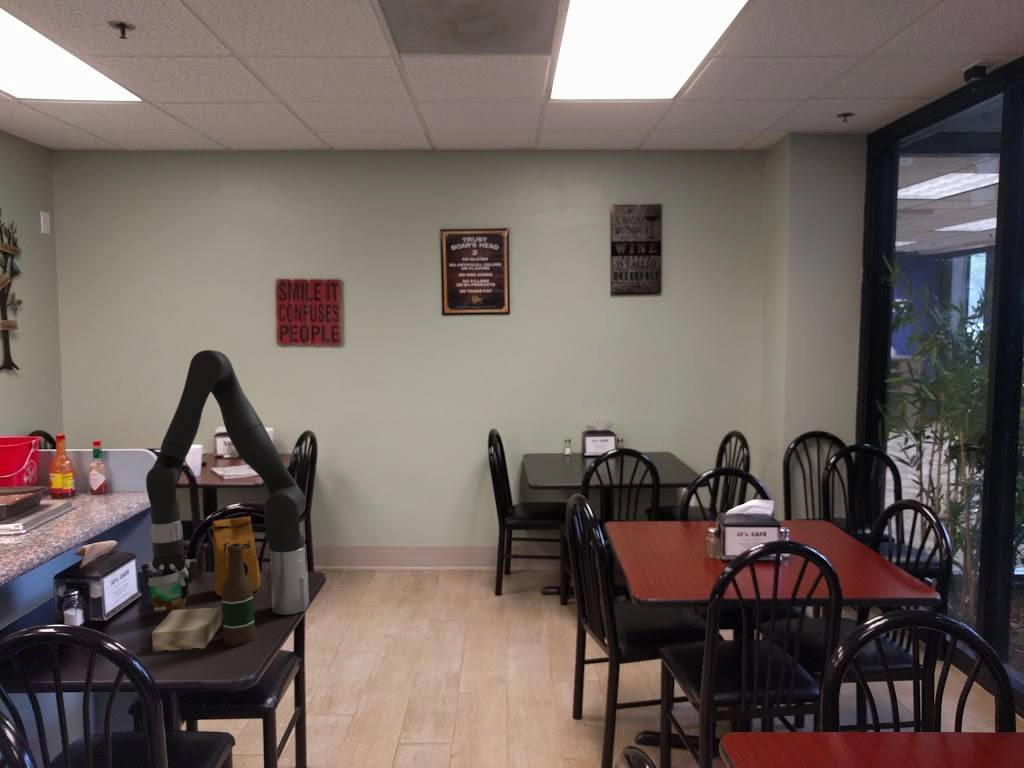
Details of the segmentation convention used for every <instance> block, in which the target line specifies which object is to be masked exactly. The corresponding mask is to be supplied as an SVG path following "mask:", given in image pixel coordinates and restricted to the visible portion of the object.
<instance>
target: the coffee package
mask: <svg viewBox="0 0 1024 768" xmlns="http://www.w3.org/2000/svg"><path fill="white" fill-rule="evenodd" d="M211 528H212V531H213V533H212V534H213V537H212V540H213V543H212V544H213V558H214V569H213V585H214V587H213V588H214V592H215V594H216V595H217V596H219V597H222V588H223V585H224V582H225V581H226V579H227V577H228V570H229V552H228V551H227V548H228V546H229V545H231V544H236V543H238V544H242V547H243V549H242V550H241V551H242V559H243V568H244V573H245V575H246V576H247V578H248V579H249V580H250V582H251V585H252V590H253V592H258V591H259V588H260V584H261V582H260V581H261V573H260V565H259V561H258V556H257V549H256V546H255V537H254V532H253V527H252V518H251V515H249V516H241V517H236V518H235V517H234V518H227V519H220V520H219V519H218V520H212V524H211Z"/></svg>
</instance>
